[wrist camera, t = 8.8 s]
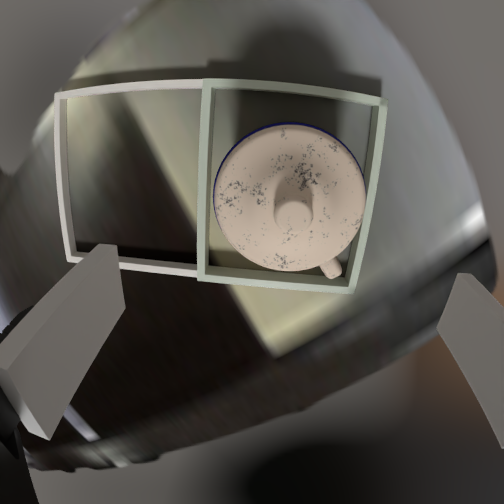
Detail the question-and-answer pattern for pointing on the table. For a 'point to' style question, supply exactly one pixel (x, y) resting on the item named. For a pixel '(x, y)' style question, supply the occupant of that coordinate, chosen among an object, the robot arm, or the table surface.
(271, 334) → the table surface
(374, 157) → the divided tray
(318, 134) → the teacup with lid
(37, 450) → the table surface
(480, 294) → the robot arm
